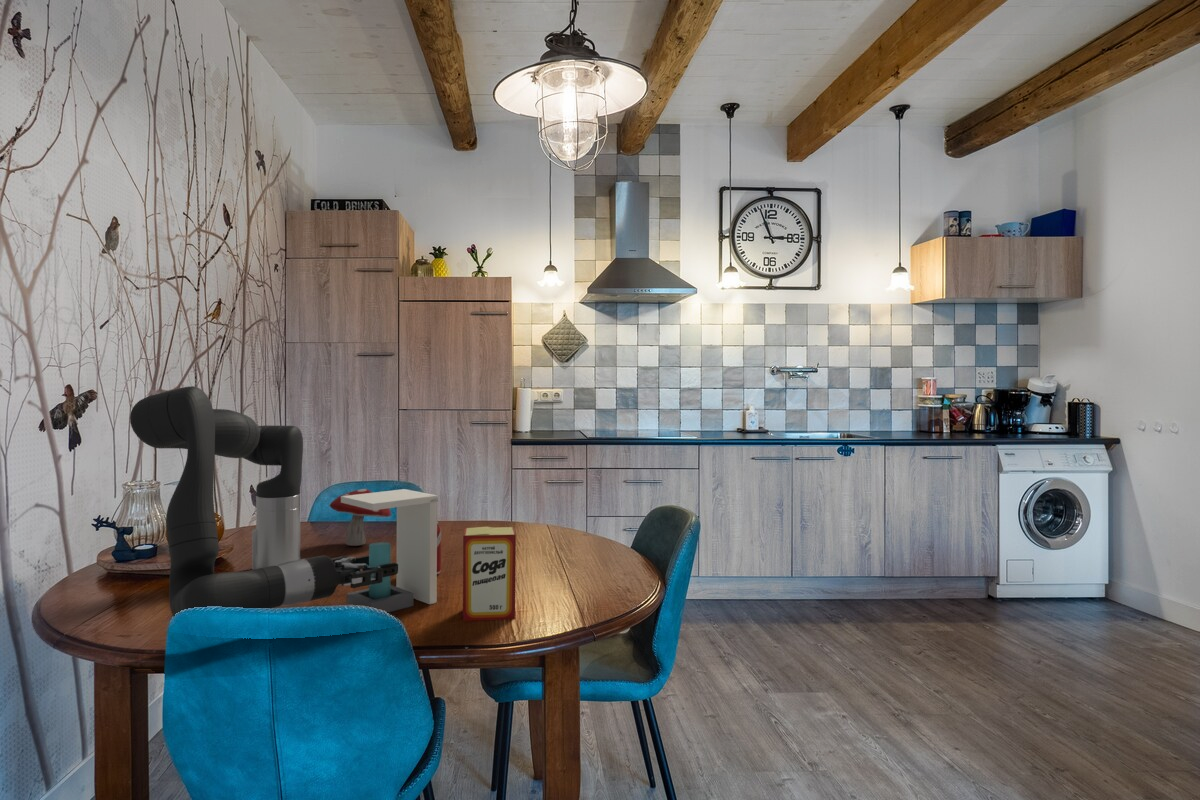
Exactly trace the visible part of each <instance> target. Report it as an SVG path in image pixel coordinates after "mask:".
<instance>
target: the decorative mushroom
mask: <svg viewBox="0 0 1200 800" xmlns="http://www.w3.org/2000/svg"><path fill="white" fill-rule="evenodd" d="M366 493H374V492H373V491H371V490H369V489H367V488H362V489H356V490H353V491H349V492H346V493H344V494H340V495H339V496H337V497H336V498H335V499H333V500H332V501H331V502H330V504H329V507H330V508H331V509H332V510H335V511H336V512H339V513H347V514H350V515H352V517H351V520H350V521H349V523H348V524H347V529H346V533H345V545H347V546H351V547H358V546H362V545H364V544H366V539H367V538H366V530H365V527H364V518H365V517H371V518H372V517H374V518H375V517H376V518H389V517H391V516H392V512H391V508H387V509H380V510H369V509H365V508H361V507H357V506H353V505H349V504H345V503H341V496H348V495H357V494H366Z"/></svg>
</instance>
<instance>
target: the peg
mask: <svg viewBox="0 0 1200 800" xmlns="http://www.w3.org/2000/svg"><path fill="white" fill-rule="evenodd" d="M391 545H392V544H391V543H390V542H384V541H383V542H382V541H381V542H379V541H378V542H373V543H370V544H368V555H369V566H376V565H384V564H389V563H392V561H391V559H392V556H391V555H392V552H391V551H392V547H391ZM371 576H374V573H373V574H371ZM391 577H392V576H387V577H383V582H381V583H377V584H372V585H368V589H369V598H370V599H373V600H376V599H380V598H384V597H389V596H391V585H392V584H391V580H392V578H391Z"/></svg>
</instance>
